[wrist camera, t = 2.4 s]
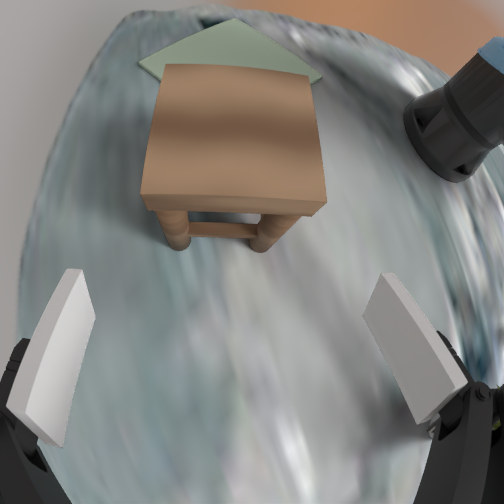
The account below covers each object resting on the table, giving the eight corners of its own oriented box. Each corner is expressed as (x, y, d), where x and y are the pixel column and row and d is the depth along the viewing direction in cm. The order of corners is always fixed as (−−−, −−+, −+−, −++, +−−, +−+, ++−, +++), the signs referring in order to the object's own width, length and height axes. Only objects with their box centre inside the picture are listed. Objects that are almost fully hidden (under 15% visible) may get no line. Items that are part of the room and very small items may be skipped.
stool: (175, 157, 29) (165, 63, 16) (268, 162, 31) (308, 75, 18) (167, 250, 27) (140, 193, 14) (271, 252, 29) (327, 202, 16)
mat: (234, 20, 36) (234, 18, 36) (321, 78, 36) (322, 75, 35) (139, 64, 31) (138, 61, 31) (229, 138, 31) (229, 135, 30)
